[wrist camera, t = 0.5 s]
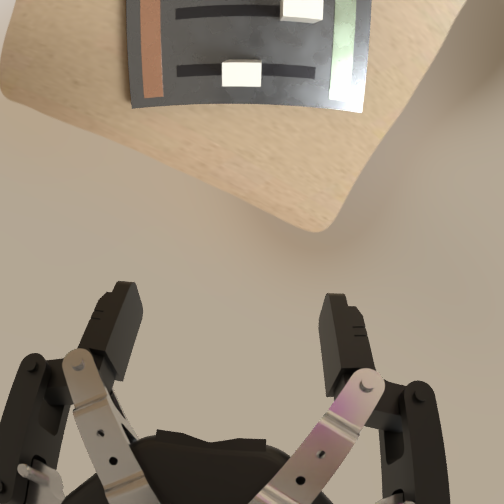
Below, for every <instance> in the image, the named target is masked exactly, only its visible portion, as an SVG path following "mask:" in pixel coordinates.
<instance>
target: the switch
mask: <svg viewBox="0 0 504 504" xmlns="http://www.w3.org/2000/svg"><path fill="white" fill-rule="evenodd" d="M261 69H262V60H249V59H229V60H226V61H224V62H222V86H247V87H261Z"/></svg>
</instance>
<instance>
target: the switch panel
mask: <svg viewBox="0 0 504 504" xmlns="http://www.w3.org/2000/svg"><path fill="white" fill-rule="evenodd" d="M280 1H281V0H126V17H127V49H128V67H129V81H130V94H131V105H132V109H133V108H143V107H155V106H169V105H187V104H272V105H291V106H305V107H316V108H327V109H336V110H345V111H353V112H360V113H362V107H363V99H364V90H365V81H366V71H367V61H368V49H369V36H370V20H371V0H323V20H321V21H318V22H316V23H303V22H291V21H280ZM229 59H249V60H262V69H261V87H247V86H222V62H224V61H226V60H229Z"/></svg>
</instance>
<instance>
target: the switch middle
mask: <svg viewBox="0 0 504 504" xmlns="http://www.w3.org/2000/svg"><path fill="white" fill-rule="evenodd" d="M321 20H323V0H281V1H280V21H291V22H303V23H316V22H318V21H321Z"/></svg>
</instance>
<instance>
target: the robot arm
mask: <svg viewBox="0 0 504 504" xmlns="http://www.w3.org/2000/svg"><path fill="white" fill-rule="evenodd" d="M142 316H143V307H142V303H141V300H140V296H139V293H138V290H137V286H136V284H135V283H134V282H125V281H118V282H117V283H116V285H115V287H114V289H113V291H112V292H106V293H105V294H104V295H103V296H102V297H101V298H100V299H99V300H98V303H97V305H96V307H95V309H94V312H93V314H92V316H91V319H90V320H89V323H88V325H87V327H86V330H85V332H84V334H83V337H82V339H81V341H80V344H79V346H78V348H77V349H74V350H72V351H70V352H69V353H68V354H67V355H66V356H65V357H64V358H63V359H56V360H45V359H44V357H43V356H42V355H40V354H38V353H32V354H29V355H28V356H26V357H25V358H24V359H23V360H22V362H21V364H20V366H19V369H18V371H17V374H16V377H15V380H14V382H13V385H12V388H11V391H10V394H9V397H8V400H7V403H6V406H5V409H4V412H3V415H2V419H1V422H0V504H333V503H332V502H331V501H330V500H329V499H328V498H327V497H326V495H325V494H324V493H323V492H322V491H321V490H322V489H323V488H324V486H325V485H326V484H327V482H328V481H329V480H330V478H331V477H332V476H333V474H334V473H335V472H336V470H337V469H338V467H339V466H340V465H341V463H342V462H343V460H344V459H345V457H346V456H347V454H348V453H349V451H350V450H351V448H352V447H353V445H354V444H355V442H356V441H357V439H358V437H359V433H360V431H361V430H362V428H363V426H366V427H371V428H375V429H379V440H380V453H381V469H382V493H383V499H381V500H379V501H378V502H376V503H375V504H450V494H449V482H448V473H447V464H446V456H445V449H444V442H443V437H442V430H441V424H440V419H439V413H438V408H437V404H436V399H435V394H434V391H433V389H432V388H431V387H430V386H429V385H428V384H427V383H425V382H423V381H413V382H411V383H409V384H408V385H407V386H404V385H399V384H395V383H391V382H388V381H386V380H384V379H383V377H382V376H381V375H380V374H379V373H378V372H377V371H376V369H375V366H374V362H373V357H372V353H371V348H370V344H369V340H368V337H367V331H366V329H365V323H364V319H363V316H362V314H361V313H360V312H359V310H358V309H357V307H355V306H348V304H347V300H346V296H345V294H334V293H327V294H326V296H325V299H324V303H323V307H322V310H321V313H320V317H319V336H320V344H321V353H322V361H323V370H324V378H325V389H326V397H334V403H333V404H332V405H331V407H330V408H329V410H328V411H327V412H326V414H325V415H324V416H323V417H322V418H321V419H320V421H319V422H318V423H317V425H316V426H315V427H314V429H313V430H312V431H311V433H310V434H309V435H308V436H307V438H306V439H305V440H304V442H303V443H302V444H301V445H300V447H299V448H298V449H297V450H296V452H295V453H294V454H293V455H292V456H291V457H290V456H289V455H287V454H286V453H285V452H283V451H281V450H279V449H277V448H275V447H272V446H268V445H266V439H243V438H237V439H232V440H225V441H219V442H206V441H203V440H200V439H197V438H194V437H192V436H189V435H186V434H184V433H178V432H171V431H164V430H158V429H157V432H156V435H154V436H148V437H144V438H141V439H139V438H138V436H137V435H136V433H135V431H134V430H133V428H132V427H131V425H130V423H129V421H128V419H127V417H126V415H125V413H124V411H123V409H122V407H121V405H120V403H119V400H118V398H117V396H116V394H115V392H114V390H113V384H114V380H117V381H123V379H124V375H125V372H126V369H127V366H128V362H129V359H130V356H131V352H132V349H133V346H134V342H135V339H136V336H137V333H138V330H139V327H140V324H141V320H142ZM72 404H74V406H75V409H74V410H73V415H74V419H75V421H76V424H77V427H78V429H79V432H80V434H81V437H82V440H83V442H84V445H85V447H86V449H87V452H88V454H89V457H90V459H91V461H92V463H93V465H94V468H95V470H96V472H97V473H95V474H94V475H93V476H92V477H90V478H89V479H88V480H87V481H85V482H84V483H83V484H81V485H80V486H79V487H78V488H76V489H75V490H74V491H72V492H71V493H70V494H69V495H68V496H66V497H65V496H64V493H63V484H62V479H61V476H60V475H59V473H58V472H57V471H56V469H57V463H58V458H59V452H60V448H61V443H62V439H63V434H64V430H65V425H66V421H67V417H68V413H69V409H70V405H72Z"/></svg>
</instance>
